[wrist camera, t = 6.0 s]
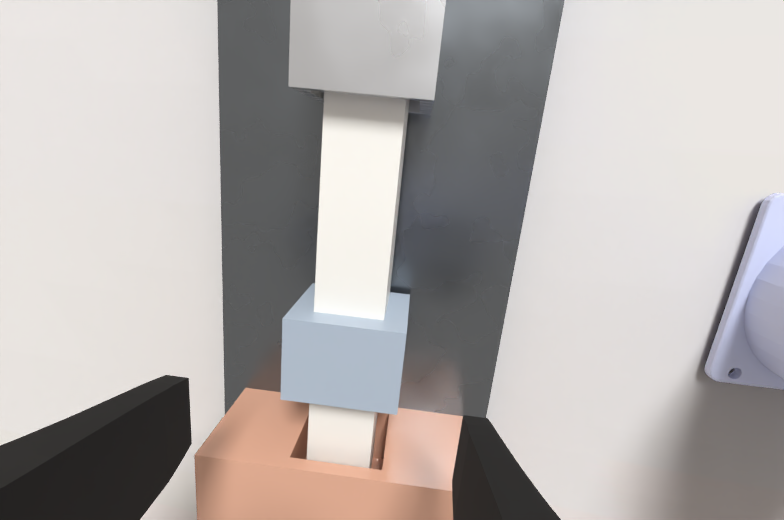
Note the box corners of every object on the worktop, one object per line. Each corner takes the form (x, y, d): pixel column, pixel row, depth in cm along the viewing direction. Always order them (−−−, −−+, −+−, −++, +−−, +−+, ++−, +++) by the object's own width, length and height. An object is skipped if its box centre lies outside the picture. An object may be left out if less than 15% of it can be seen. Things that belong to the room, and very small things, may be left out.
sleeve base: (597, -221, 12) (708, -460, 8) (466, 490, 20) (481, 598, 15) (228, -242, 13) (113, -477, 8) (235, 458, 20) (177, 552, 16)
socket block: (463, 416, 18) (475, 494, 13) (450, 487, 19) (458, 580, 15) (245, 387, 18) (194, 455, 14) (245, 459, 19) (198, 541, 15)
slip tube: (436, 65, 14) (441, 34, 10) (392, 448, 18) (384, 520, 14) (323, 54, 14) (289, 20, 10) (305, 437, 18) (277, 504, 14)
